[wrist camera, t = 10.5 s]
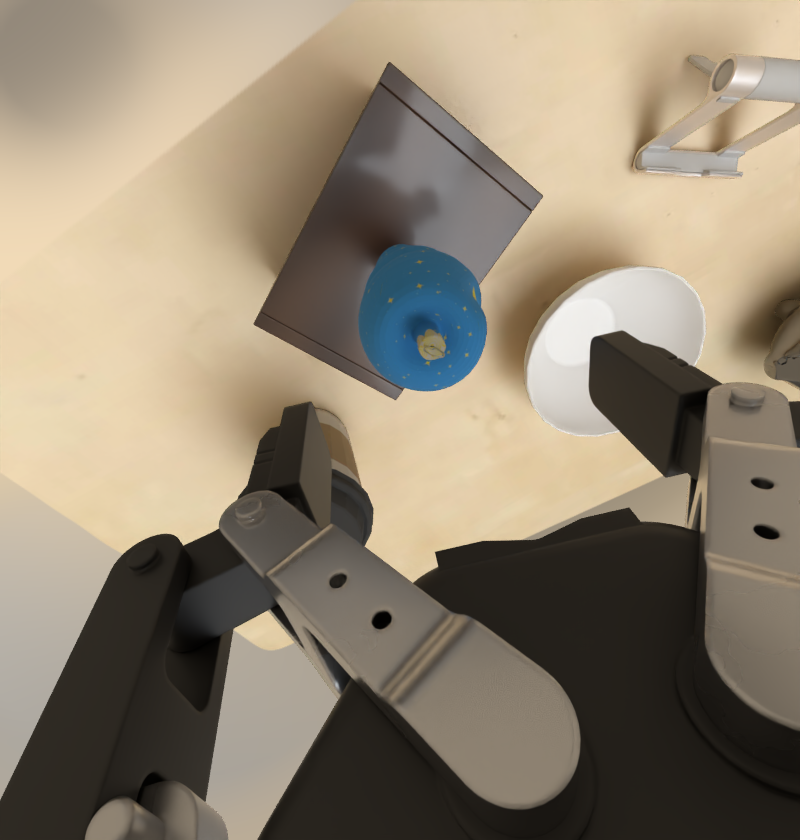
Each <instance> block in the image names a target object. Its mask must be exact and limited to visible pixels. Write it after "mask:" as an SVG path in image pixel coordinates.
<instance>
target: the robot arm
mask: <svg viewBox="0 0 800 840" xmlns="http://www.w3.org/2000/svg"><path fill="white" fill-rule="evenodd" d="M588 386H589V394H590V398H591V400H592V402H593V404H594V406H595V407H596V408H597V409H598V410H599V411H600V412H601V413H602V414H603V415H604V416H605V417H606V418H607V419H608V420H609V421H610V422H611V423H612V424H613V425H614V426H615V427H616V428H617V429H618V430H619V431H620V432H621V433H622V434H623V435H624V436H625V437H626V438H627V439H628V440H629V441H630V442H631V443H632V444H633V445H634V446H635V447H636V448H637V449H638V450H639V451H640V452H641V453H642V454H643V455H644V456H645V457H646V458H647V459H648V460H649V461H650V462H651V463H652V464H653V465H654V466H655V467H656V468H657V469H658V470H659V471H660V472H661V473H662V474H663V475H664V476H665V477H671V476H675V475H679V474H684V473H688V474H689V475H690V481H689V485H688V494H687V505H686V517H685V527H681V526H676V525H672V524H666V523H658V522H640V520H639V519H638V518H637V517H636V515H635V514H634V513H633V512H632V511H631V509H630V508H625V509H621V510H616V511H612V512H607V513H603V514H599V515H594V516H590V517H586V518H581V519H579V520H577V521H575V522H573V523H571V524H569V525H567V526H565V527H563V528H561V529H559V530H557V531H555V532H553V533H551V534H548V535H546V536H544V537H543V538H540V539H536V540H511V541H481V542H476V543H472V544H468V545H463V546H459V547H455V548H450V549H446V550H442V551H437V552H435V554H436V558H437V563H438V567H437V568H435V569H433V570H431V571H429V572H428V573H426V574H425V575H423V576H421V577H420V578H419V579H417V580H416V581H415V582H414V583H412V582H411V581H409V580H408V579H407V578H405V577H404V576H403V575H401V574H400V573H399V572H397V571H396V570H395V569H393V568H392V567H391V566H390V565H388V564H387V563H386V562H384V561H383V560H382V559H380V558H379V557H378V556H376V555H375V554H374V553H372V552H371V551H370V550H368V549H367V548H366V547H364V546H363V545H362V544H360V543H359V542H358V541H356V540H355V539H354V538H352V537H351V536H350V535H348V534H347V533H346V532H345V531H343V530H342V529H341V528H339V527H338V526H336V525H334V524H332V523H330V513H331V477H332V463H331V457H330V452H329V448H328V445H327V442H326V439H325V437H324V434H323V431H322V428H321V425H320V422H319V420H318V417H317V414H316V411H315V409H314V406H313V404H312V403H311V402H307V403H302V404H298V405H294V406H289V407H285V408H284V411H283V415H282V420H281V424H280V426H279V427H275V428H270V429H269V430H268V432H267V433H266V434H265V435H264V436H263V438H262V439H261V440H260V442H259V445H258V449H257V455H256V456H255V460H254V465H253V467H252V471H251V474H250V478H249V481H248V485H247V489H246V492H245V496H243V497H241V498H240V499H238V500H236V501H235V502H234V503H232V504H231V505H230V506H229V507H228V508H227V509H226V510H225V511H224V513H223V514H222V516H221V518H220V521H219V529H217V530H216V531H214V532H212V533H210V534H208V535H206V536H203V537H201V538H199V539H197V540H195V541H193V542H191V543H188V544H186V545H184V546H183V545H182V543H181V542H180V540H179V539H178V538H177V537H176V536H174V535H171V534H160V535H155V536H152V537H149V538H147V539H145V540H143V541H141V542H139V543H137V544H136V545H134V546H133V547H131V548H130V549H129V550H127V551H126V552H125V553H124V554H123V555H122V556H121V557H120V558H119V559H118V560H117V562H116V563H115V564H114V566H113V568H112V569H111V571H110V573H109V576H108V578H107V580H106V582H105V584H104V586H103V588H102V590H101V592H100V594H99V596H98V599H97V600H96V603H95V605H94V607H93V609H92V611H91V613H90V615H89V617H88V619H87V621H86V623H85V625H84V627H83V630H82V632H81V634H80V636H79V638H78V640H77V642H76V644H75V646H74V648H73V650H72V652H71V654H70V657H69V659H68V661H67V663H66V665H65V667H64V669H63V671H62V673H61V676H60V677H59V680H58V681H57V684H56V686H55V688H54V690H53V692H52V694H51V696H50V698H49V700H48V702H47V704H46V706H45V708H44V711H43V713H42V715H41V717H40V719H39V721H38V723H37V725H36V727H35V729H34V731H33V734H32V736H31V738H30V740H29V742H28V744H27V746H26V748H25V750H24V752H23V754H22V756H21V759H20V760H19V762H18V765H17V767H16V769H15V771H14V773H13V775H12V777H11V779H10V781H9V783H8V785H7V788H6V790H5V792H4V794H3V796H2V798H1V800H0V840H228V833H227V829H226V826H225V823H224V821H223V819H222V817H221V816H220V815H219V814H218V813H217V812H216V811H215V810H214V809H213V808H211V807H210V806H209V805H207V803H205V801H206V795H207V789H208V783H209V777H210V770H211V764H212V758H213V752H214V746H215V740H216V733H217V727H218V721H219V715H220V709H221V702H222V696H223V690H224V683H225V678H226V672H227V665H228V659H229V653H230V647H231V641H232V634H233V629H234V628H235V627H237V626H239V625H241V624H243V623H245V622H247V621H249V620H250V619H252V618H254V617H256V616H258V615H260V614H262V613H264V612H265V611H267V610H268V611H269V612H270V614H271V615H272V616H273V617H274V618H275V620H276V621H277V622H278V623H279V624H280V626H281V627H282V628H283V629H284V630H285V632H286V633H287V634H288V635H289V636H290V638H291V639H292V640H293V641H294V642H295V644H296V645H297V646H298V647H299V648H300V650H301V651H302V652H303V653H304V654H305V656H306V657H307V658H308V659H309V660H310V662H311V663H312V664H313V665H314V667H315V669H316V670H317V671H318V673H319V674H320V676H321V677H322V679H323V680H324V682H325V683H326V684H327V686H328V687H329V688H330V690H331V691H332V692H333V693H334V695H335V696H336V697H337V699H338V701H337V703H336V705H335V706H334V708H333V710H332V711H331V713H330V715H329V717H328V718H327V720H326V722H325V724H324V725H323V727H322V729H321V730H320V732H319V734H318V736H317V737H316V739H315V741H314V742H313V744H312V746H311V748H310V749H309V751H308V753H307V754H306V756H305V758H304V760H303V761H302V763H301V765H300V766H299V769H298V770H297V772H296V773H295V775H294V777H293V778H292V780H291V782H290V784H289V785H288V787H287V789H286V791H285V792H284V794H283V796H282V798H281V799H280V801H279V803H278V804H277V806H276V808H275V809H274V811H273V813H272V815H271V817H270V818H269V820H268V822H267V823H266V825H265V827H264V828H263V830H262V832H261V834H260V836H259V838H258V840H800V401H795V402H788V399H787V398H786V397H785V396H784V395H783V394H782V393H780V392H778V391H777V390H774V389H772V388H769V387H766V386H763V385H759V384H753V383H741V382H736V383H726V384H722V383H720V382H719V381H717V380H715V379H714V378H712V377H710V376H709V375H707V374H705V373H704V372H702V371H700V370H699V369H697V368H696V367H694V366H692V365H689V364H688V363H687V362H686V361H684V360H682V359H681V358H677V356H676V355H674V354H673V353H671V352H669V351H668V350H666V349H664V348H662V347H658V346H655V345H651V344H648V343H643V342H641V341H639V340H638V339H636V338H635V337H633V336H632V335H630V334H628V333H627V332H625V331H623V330H620V331H616V332H612V333H607V334H603V335H599V336H595V337H593V338H592V340H591V344H590V360H589V385H588Z"/></svg>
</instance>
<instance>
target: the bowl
mask: <svg viewBox="0 0 800 840" xmlns="http://www.w3.org/2000/svg"><path fill="white" fill-rule="evenodd" d="M620 330H623V331H625V332H627V333H628V334H630V335H632V336H633V337H635V338H636V339H638V340H639V341H641V342H643V343H648V344H651V345H655V346H658V347H662V348H664V349H666V350H668V351H669V352H671V353H673V354H674V355H676V356H677V358H681V359H682V360H684V361H686V362H687V363H688V364H689V365H692V366H694V367H695V365H696V363H697V361H698V359H699V357H700V355H701V352H702V347H703V343H704V339H705V334H706V323H705V310H704V308H703V305H702V303H701V300H700V298H699V295H698V293H697V291H696V290H695V289H694V288H693V287H692V286H691V285H690V284H689V283H688V282H687V281H686V280H685V279H684V278H683V277H681V276H679V275H677V274H675V273H673V272H670V271H668V270H666V269H664V268H659V267H651V266H639V265H628V266H623V267H618V268H613V269H608V270H603V271H600V272H598V273H596V274H593V275H591V276H589V277H587V278H585V279H582V280H580V281H578V282H577V283H575V284H574V285H573V286H571V287H570V288H569V289H567V290H566V291H565V292H564V293H562V294H561V295H560V296H558V297H557V298H556V299H555V300H554V302H553V303H552V304H551V305H550V306H549V307H548V309H547V310H546V311H545V312H544V313H543V314H542V316H541V317H540V319H539V321H538V322H537V324H536V326H535V328H534V330H533V332H532V333H531V335H530V337H529V341H528V345H527V349H526V352H525V356H524V384H525V387H526V390H527V393H528V396H529V399H530V402H531V404H532V406H533V408H534V409H535V410H536V412H537V413H538V414H539V415H540V417H541V418H542V419H543V421H545V422H546V423H548V424H549V425H551V426H552V427H554V428H555V429H557V430H558V431H561V432H565V433H568V434H571V435H575V436H601V435H606V434H611V433H616V432H619V430H618V429H617V428H616V427H615V426H614V425H613V424H612V423H611V422H610V421H609V420H608V419H607V418H606V417H605V416H604V415H603V414H602V413H601V412H600V411H599V410H598V409H597V408H596V407H595V406H594V404H593V402H592V400H591V398H590V394H589V386H588V385H589V360H590V344H591V340H592V338H593V337H595V336H599V335H603V334H607V333H612V332H616V331H620Z"/></svg>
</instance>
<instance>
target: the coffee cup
mask: <svg viewBox="0 0 800 840" xmlns="http://www.w3.org/2000/svg"><path fill="white" fill-rule="evenodd" d="M315 411H316V414H317V417H318V420H319V422H320V425H321V428H322V431H323V434H324V437H325V439H326V442H327V445H328V448H329V452H330V457H331V463H332V477H331V513H330V523H332V524H334V525H336V526H338V527H339V528H341V529H342V530H343V531H345V532H346V533H347V534H348V535H350V536H351V537H352V538H354V539H355V540H356V541H358V542H359V543H360V544H362V545H363V546H365V544H366V542H367V540H368V538H369V536H370V534H371V532H372V525H373V507H372V504H371V501H370V499H369V496H368V494H367V492H366V491H365V490H364V489H363V488H362V486H361V482H360V478H359V475H358V471H357V467H356V463H355V459H354V455H353V451H352V447H351V443H350V439H349V436H348V433H347V431H346V428H345V427H344V426H343V424H342V422H341V421H340V420H339V419H338V418H337V417H336V416H335V415H333V414H331V413H330V412H328V411H325V410H321V409H315ZM246 489H247V486H246V488H245V489H244V490H243V491H242V493H241V494H240V495H239V496H238V499H240V498H241V497H243V496H245V492H246Z"/></svg>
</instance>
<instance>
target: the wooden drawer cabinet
mask: <svg viewBox="0 0 800 840" xmlns="http://www.w3.org/2000/svg"><path fill="white" fill-rule="evenodd" d="M542 197H543V195H542V194H541V193H540V192H538V191H537V190H536V189H535V188H534V187H533V186H532V185H530V184H529V183H528V182H527V181H526V180H525V179H523V178H522V177H521V176H520V175H519V174H518V173H517V172H515V171H514V170H513V169H512V168H511V167H510V166H509V165H507V164H506V163H505V162H504V161H503V160H502V159H501V158H499V157H498V156H497V155H496V154H495V153H494V152H493V151H491V150H490V149H489V148H488V147H487V146H486V145H485V144H483V143H482V142H481V141H480V140H479V139H478V138H477V137H475V136H474V135H473V134H472V133H471V132H470V131H469V130H467V129H466V128H465V127H464V126H463V125H462V124H461V123H459V122H458V121H457V120H456V119H455V118H454V117H453V116H451V115H450V114H449V113H448V112H447V111H446V110H444V109H443V108H442V107H441V106H440V105H439V104H438V103H436V102H435V101H434V100H433V99H432V98H431V97H430V96H428V95H427V94H426V93H425V92H424V91H423V90H422V89H420V88H419V87H418V86H417V85H416V84H415V83H414V82H412V81H411V80H410V79H409V78H408V77H407V76H406V75H404V74H403V73H402V72H401V71H400V70H399V69H398V68H396V67H395V66H394V65H393V64H392V63H391V62H389V63H388V64H387V66H386V68H385V70H384V72H383V73H382V75H381V77H380V79H379V81H378V83H377V84H376V86H375V88H374V90H373V92H372V94H371V96H370V98H369V100H368V102H367V104H366V105H365V107H364V109H363V111H362V113H361V115H360V117H359V119H358V121H357V123H356V125H355V127H354V129H353V131H352V133H351V135H350V137H349V138H348V140H347V142H346V144H345V146H344V148H343V150H342V152H341V154H340V156H339V158H338V160H337V162H336V164H335V166H334V168H333V170H332V171H331V173H330V175H329V177H328V179H327V181H326V183H325V185H324V187H323V189H322V191H321V193H320V195H319V197H318V199H317V201H316V203H315V204H314V206H313V208H312V210H311V212H310V214H309V216H308V218H307V220H306V222H305V224H304V226H303V228H302V230H301V232H300V234H299V236H298V237H297V239H296V241H295V243H294V245H293V247H292V249H291V251H290V253H289V255H288V257H287V259H286V261H285V263H284V265H283V267H282V269H281V270H280V272H279V274H278V276H277V278H276V280H275V282H274V284H273V286H272V288H271V290H270V292H269V294H268V296H267V298H266V300H265V302H264V304H263V306H262V308H261V310H260V312H259V314H258V316H257V318H256V320H255V322H254V325H255V326H257V327H259V328H261V329H263V330H265V331H267V332H268V333H270V334H272V335H274V336H276V337H278V338H280V339H282V340H283V341H285V342H287V343H289V344H291V345H293V346H295V347H297V348H299V349H300V350H302V351H304V352H306V353H308V354H310V355H312V356H314V357H315V358H317V359H319V360H321V361H323V362H325V363H327V364H329V365H330V366H332V367H334V368H336V369H338V370H340V371H342V372H344V373H346V374H347V375H349V376H351V377H353V378H355V379H357V380H359V381H361V382H362V383H364V384H366V385H368V386H370V387H372V388H374V389H376V390H377V391H379V392H381V393H383V394H385V395H387V396H389V397H391V398H393V399H394V400H396V399H397V398H398V397H399V395H400V394H401V392H402V391H403V389H404V387H401V386H399V385H397V384H394V383H393V382H391V381H389V380H388V379H386V378H385V377H384V376H383V375H381V374H380V373H379V372H378V371H377V370H376V369H375V367H374V366H373V365H372V364H371V362H370V360H369V359H368V357H367V355H366V353H365V351H364V349H363V346H362V343H361V340H360V335H359V327H358V317H359V310H360V305H361V301H362V298H363V295H364V291H365V287H366V283H367V281H368V279H369V276H370V274H371V273H372V271H373V270H374V268H375V266H376V263H377V261H378V259H379V257H380V256H381V254H382V253H383V252H384V251H385V250H387V249H388V248H390V247H392V246H394V245H398V244H405V245H412V246H413V245H418V246H427V247H430V248H434V249H436V250H437V251H440V252H443V253H446V254H448V255H450V256H452V257H454V258H456V259H457V260H458V261H460V262H461V263H462V264H463V265H465V266H466V267H467V268H468V269H469V270H470V271H471V272H472V273H473V274H474V276H475V278H476V280H477V282H478V284H480V283H481V282H482V280H483V279H484V277H485V276H486V275H487V273H488V272H489V271H490V269H491V268H492V266H493V265H494V264H495V262H496V261H497V260H498V258H499V257H500V255H501V254H502V253H503V251H504V250H505V248H506V247H507V246H508V244H509V243H510V242H511V240H512V239H513V237H514V236H515V235H516V233H517V232H518V231H519V229H520V228H521V226H522V225H523V224H524V222H525V221H526V219H527V218H528V217H529V215H530V214H531V212H532V211H533V210H534V208H535V207H536V206H537V204H538V203H539V202H540V200H541V199H542Z"/></svg>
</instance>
